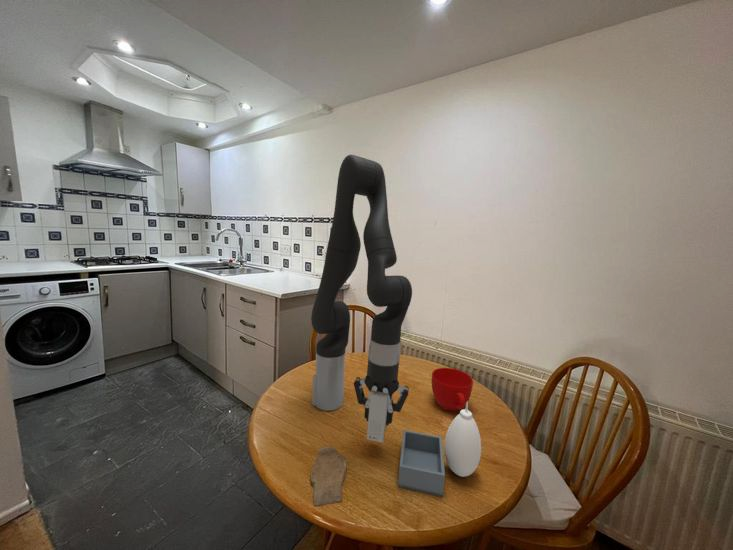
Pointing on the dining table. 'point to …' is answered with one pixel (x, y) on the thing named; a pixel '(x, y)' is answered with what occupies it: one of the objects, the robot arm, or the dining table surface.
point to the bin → (422, 463)
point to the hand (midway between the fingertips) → (378, 421)
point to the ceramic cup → (451, 388)
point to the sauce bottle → (463, 444)
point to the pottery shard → (328, 477)
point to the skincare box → (377, 416)
